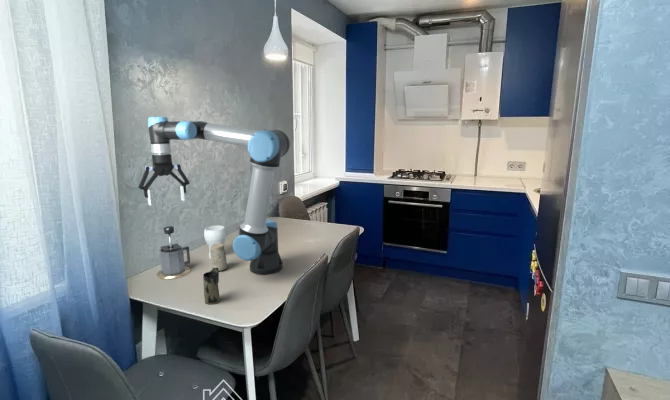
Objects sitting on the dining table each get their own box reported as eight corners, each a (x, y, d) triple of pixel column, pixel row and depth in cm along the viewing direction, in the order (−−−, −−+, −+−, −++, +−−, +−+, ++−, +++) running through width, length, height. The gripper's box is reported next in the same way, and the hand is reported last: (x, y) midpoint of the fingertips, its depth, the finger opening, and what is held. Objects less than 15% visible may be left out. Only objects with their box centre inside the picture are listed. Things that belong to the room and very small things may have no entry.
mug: (215, 305, 136) (212, 275, 134) (201, 304, 137) (199, 274, 135) (225, 295, 144) (223, 267, 141) (212, 294, 145) (210, 266, 142)
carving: (218, 265, 174) (216, 241, 171) (230, 268, 170) (228, 244, 168) (208, 270, 168) (206, 245, 166) (220, 273, 165) (218, 248, 163)
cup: (221, 260, 180) (219, 231, 177) (201, 259, 182) (199, 230, 179) (231, 253, 191) (229, 225, 187) (212, 252, 193) (210, 224, 190)
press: (195, 273, 165) (192, 247, 162) (160, 282, 156) (157, 254, 154) (186, 264, 176) (184, 240, 173) (153, 271, 168) (150, 246, 165)
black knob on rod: (182, 268, 165) (178, 227, 161) (167, 271, 161) (162, 230, 157) (178, 264, 170) (174, 224, 166) (163, 267, 166) (159, 227, 162)
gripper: (189, 151, 165) (193, 197, 170) (126, 155, 151) (133, 205, 155) (194, 152, 160) (198, 200, 164) (129, 156, 145) (136, 208, 149)
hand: (166, 202), depth 160 cm, fingers open, 13 cm apart
